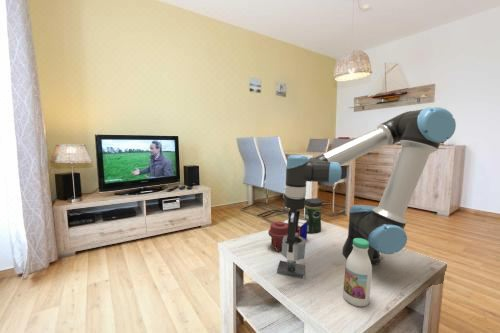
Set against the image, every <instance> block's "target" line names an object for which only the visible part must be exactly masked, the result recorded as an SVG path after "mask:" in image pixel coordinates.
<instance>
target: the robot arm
mask: <svg viewBox="0 0 500 333" xmlns="http://www.w3.org/2000/svg"><path fill="white" fill-rule="evenodd" d="M456 123H457V122H456V119H455V118H454V115H453V113H452V112H451V111H449V110H447V109H446V108H443V107H425V108H423V109H422V108H421V109H417V110H409V111H405V112H402V113H400V114H398V115H395V116H393V117H392V118H390V119H388V120H386V121H384V122H382V123H380V124H379V125H377V127H376V128H375V129H373V130H371V131H369V132H367V133H364V134H362V135H360V136H359V137H356V138H354V139H352V140H350V141H348V142H345V143H343V144H341V145H339V146H337V147H335V148H333V149H330V150H328V151H325V152H324V153H322V154H320V155H318V156H316V157H309V158H308V156H307V155H300V154H290V155H288V157H287V160H286V167H285V169H286V170H285V171H286V172H285V186H284V187H283V189H284V190H285V192H284V194H285V196H284V207H286V208H287V209H289V211H288V212H287V213H288V214H287V216H288V218H289V219H288V218H287V219H288V235H287V241H285V243H287V258H286V261H288V260H293V261H294V253H295V235H296V236H297V234H298V233H299V230H298V221H299V219H300V214H301V211H300V210H303V209H305V199H306V198H305V197H306V196H307V182H310V183H311V182H316V183H338V182H339V181H340V180H341V178H342V171H343V170H342V167H341V166H343V165H344V164H345V165H346V163H349V162H351V161H353V160H355V159H357V158H360V157H362V156H364V155H366V154H369V153H370V152H373V151H375V150H377V149H380V148H382V147H384V146H388V147H389V146H393V145H395V144H397V143H400V145H401V148H400V153H399V155H398V157H397V160H396V162H395V164H394V166H393V169H392V171H391V174H390V177H389V179H388V182H387V184H386V185H385V189H384V191H383V194H382V196H381V199H380V201H379V203H378V206H373V205H368V204H367V205H366V204H354V205H351V206H350V210H349V213H348V214H349V217H348V229H347V230H348V232H347V238H346V240H345V242H344V244H343V246H342V253H341V254H342V255H343V256H344V257H345V258H346V259H347V258H348V256H349V255H350V254H351V252H352V250H353V239H355V238H362V239H365V240H367V241H368V242H369V247H368V248H369V249H368V256H369V259H370V261H371V265H372V266H374V265H375V266H376V265H378V264H379V263H380V262H381V254H383V255H394V254H395V253H398V252H401V251H402V250H403V249H404V247H405V246H406V245H407V242H408V236H407V233H406V231H405V227H406V225H407V221H406V219H405V213H406V212H407V209H408V207H409V205H410V202H411V199H412V197H413V195H414V193H415V190H416V188H417V185H418V183H419V181H420V178H421V177H422V174H423V171H424V169H425V167H426V165H427V162H428V159H429V158H430V155H431V154H433V153H435V152H437V151H438V150H439V147H440V145H441V143H444V142H446V141H447V140H449V139H452V137H453V135H454V134H455V131H456V126H457V124H456ZM296 232H297V233H296ZM380 253H381V254H380Z"/></svg>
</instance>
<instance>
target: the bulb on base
mask: <svg viewBox="0 0 500 333" xmlns="http://www.w3.org/2000/svg"><path fill="white" fill-rule="evenodd" d="M305 271H306V265H305V264H301V263H297V261H295V260H294V261H293V260H286V261H284V260H279V263H278V265H277V268H276V274H279V275H283V276H289V277H294V278H298V279H299V278H300V279H304V278H305Z"/></svg>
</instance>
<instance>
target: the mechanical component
mask: <svg viewBox="0 0 500 333" xmlns="http://www.w3.org/2000/svg"><path fill="white" fill-rule="evenodd" d="M283 222H284V221H280V220H279V221H273V222H271V224H270V228H269V229H268V236H269V237H270V238H271V242H270V245H271V246H272V247H273V248H275V249H276V251H277V252H280V251H282V241H283V237H284V236H287V235H288V224H286V223H283Z"/></svg>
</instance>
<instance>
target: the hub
mask: <svg viewBox="0 0 500 333" xmlns="http://www.w3.org/2000/svg"><path fill="white" fill-rule="evenodd" d="M306 240H307V239H306ZM306 240H305V239H304V238H302V237H300V236H296V235H295V253H294V260H295V261H296V262H297V261H301V260H304V259H305V254H306ZM285 241H287V236H284V237H283V241H282V249H281V256H282V257H284V258H285V259H287V243H285Z"/></svg>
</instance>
